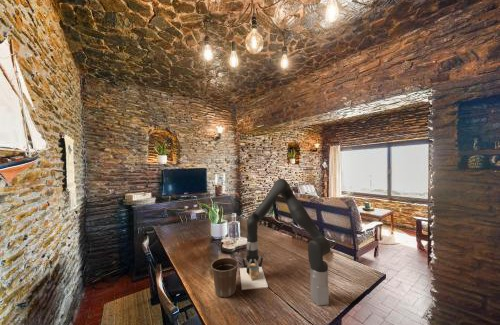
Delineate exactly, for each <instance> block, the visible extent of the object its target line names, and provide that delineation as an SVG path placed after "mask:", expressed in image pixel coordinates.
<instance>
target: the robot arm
mask: <svg viewBox="0 0 500 325" xmlns="http://www.w3.org/2000/svg"><path fill="white" fill-rule="evenodd" d="M279 195H280V196H281V197H282V198H283V200H284V201H285V204H286V206H287V208H288V211H289V214H290V216H291V217H292V219H293V220H294V222H295V223H296V224H297V225H298V226H299V227H300V228H302V229H303V230H304V231H305V232H307V233H308V234H309V236H310V238H311V240H309V242H308V243H307V244H308V245H307V256H308V262H309V266H310V268H309V269H310V271H309V272H310V273H309V274H310V276H309V278H310V279H309V280H310V283H309V284H310V300H311V301H312V303H314V304H316V305H317V306H318V307H319V306H329V305H330V298H329V297H330V295H329V290H330V288H329V266H328V263H327V262H326V261H325V260H324V256H326V255H329V253H330V252H331V244H330V243H329V241H328V239H327V238H326V237H325V235H324V234H323V232H321V231H320V229H319V228H318V226H317V225H316V223H315V222H314V220H313V219H312V218H311V216H310V214H309V213H308V212H307V210H306V208H305V207H304V205H303V204H302V203H301V202H300V200H299V199H298V198H297V197H296V195H295V194H294V192H293V189H292V188H291V185H290V183H289V182H288V181H287V180H286V179H284V178H278V179H276V180H275V182H274V183H273V185H272V187H271V188H270V190H269V192H268V193H267V195H266V197H265V198H264V199H263V201H262V202H261V203H260V204H259V205H258V207H257V208H256V209H255V211H253V213H251V214H250V215H249V217H247V219H246V231H247V233H246V257H242V265H243V268H247V273H248V274H249V266H250V264H253V263H254V264H255V265H256V267H257V269H258V272H259V267H262V265H263V260H264V258H263V256H259V243H258V238H259V237H258V228H259V227H258V225H259V224H258V223H259V221H260V220H261V219H263V218H264V217H265V216H266V215H267V214H268V212H269V211H271V208H272V207H273V204H274V202H275V200H276V199H277V197H279ZM258 260H259V263H258ZM246 261H247V262H246ZM246 263H247V264H246Z"/></svg>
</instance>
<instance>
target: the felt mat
mask: <svg viewBox="0 0 500 325" xmlns="http://www.w3.org/2000/svg"><path fill="white" fill-rule="evenodd" d="M239 273H240V274H239V275H240V283H241V284H240V285H241V291H243V290H254V289H255V290H256V289H268V288H269V286H268V282H267V279H266V276H265V274H264V270H263V267H262V266H261V267H259V272H258V278H253V279H251V278H250V276H249V274H248V273H247V268H244V267H239Z"/></svg>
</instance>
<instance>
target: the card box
mask: <svg viewBox="0 0 500 325" xmlns="http://www.w3.org/2000/svg"><path fill="white" fill-rule="evenodd" d="M249 276H250V278H251V279H253V278H258V269H257V267H256V264H255V263H252V264H250V266H249Z"/></svg>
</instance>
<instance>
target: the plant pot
mask: <svg viewBox="0 0 500 325" xmlns="http://www.w3.org/2000/svg"><path fill="white" fill-rule="evenodd" d="M210 267H211V272H212V275H213V276H212V277H213V283H214V284H213V285H214V294H215V295H216V296H217V297H219V298H228V297H231V296H232V295H234V294H235V292H236V290H237V272H238V267H239V261H238V260H237V259H236V258H232V257H221V258H218V259H215V260H213V262H211V265H210Z"/></svg>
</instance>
